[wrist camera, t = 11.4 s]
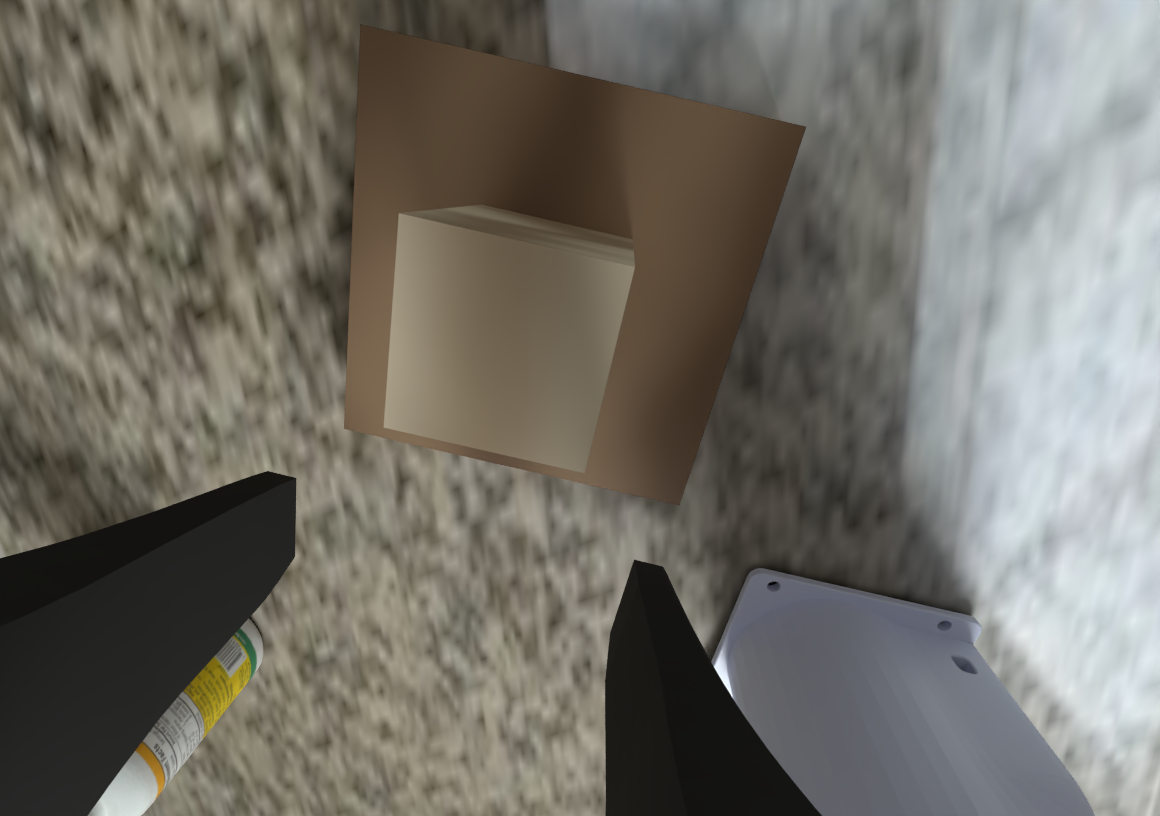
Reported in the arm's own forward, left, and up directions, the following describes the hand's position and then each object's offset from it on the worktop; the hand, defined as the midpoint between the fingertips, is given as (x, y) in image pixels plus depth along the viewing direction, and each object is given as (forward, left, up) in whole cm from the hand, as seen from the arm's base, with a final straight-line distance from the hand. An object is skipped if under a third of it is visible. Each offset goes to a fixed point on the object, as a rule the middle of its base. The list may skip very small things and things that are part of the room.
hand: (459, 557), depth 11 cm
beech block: (0, -4, -7) cm, 8 cm away
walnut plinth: (0, -4, -9) cm, 10 cm away
